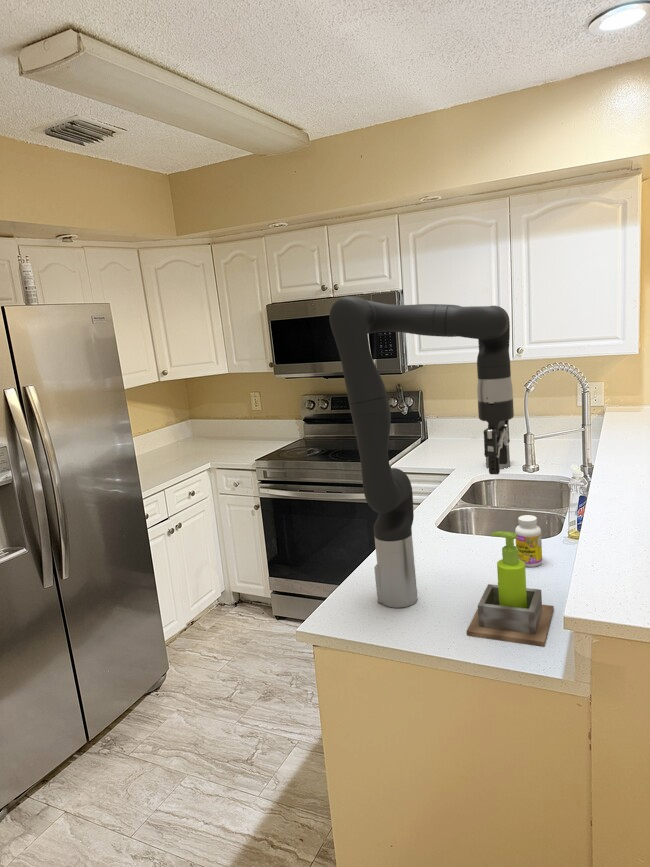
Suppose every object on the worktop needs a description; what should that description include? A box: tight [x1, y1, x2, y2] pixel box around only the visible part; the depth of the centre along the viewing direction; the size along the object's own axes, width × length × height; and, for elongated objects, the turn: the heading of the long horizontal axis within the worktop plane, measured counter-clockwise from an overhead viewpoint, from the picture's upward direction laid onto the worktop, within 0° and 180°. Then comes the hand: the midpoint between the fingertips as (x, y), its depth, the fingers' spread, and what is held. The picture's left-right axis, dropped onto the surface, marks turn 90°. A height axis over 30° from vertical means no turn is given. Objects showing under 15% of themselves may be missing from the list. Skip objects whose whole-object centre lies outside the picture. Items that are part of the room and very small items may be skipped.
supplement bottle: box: [514, 514, 543, 568], centre depth 162 cm, size 7×7×13 cm
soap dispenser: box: [490, 530, 527, 609], centre depth 132 cm, size 6×7×20 cm
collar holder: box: [466, 583, 555, 647], centre depth 134 cm, size 16×16×6 cm
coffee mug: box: [485, 442, 511, 470], centre depth 262 cm, size 13×10×10 cm
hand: (498, 468), depth 136 cm, fingers open, 8 cm apart
